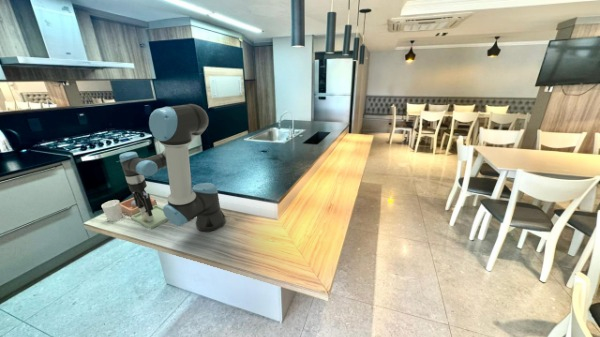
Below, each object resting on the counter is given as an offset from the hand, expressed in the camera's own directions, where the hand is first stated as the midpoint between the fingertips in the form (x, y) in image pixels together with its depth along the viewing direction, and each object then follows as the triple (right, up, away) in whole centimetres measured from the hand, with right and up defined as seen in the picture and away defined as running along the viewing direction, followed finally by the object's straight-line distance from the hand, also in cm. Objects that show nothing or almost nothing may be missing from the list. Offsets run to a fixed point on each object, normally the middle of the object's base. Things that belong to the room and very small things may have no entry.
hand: (148, 219), depth 128 cm
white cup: (-20, -1, +3) cm, 21 cm away
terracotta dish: (-14, +3, +12) cm, 19 cm away
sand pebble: (0, -1, 0) cm, 1 cm away
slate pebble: (-17, +5, +13) cm, 22 cm away
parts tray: (+2, 0, +3) cm, 3 cm away
